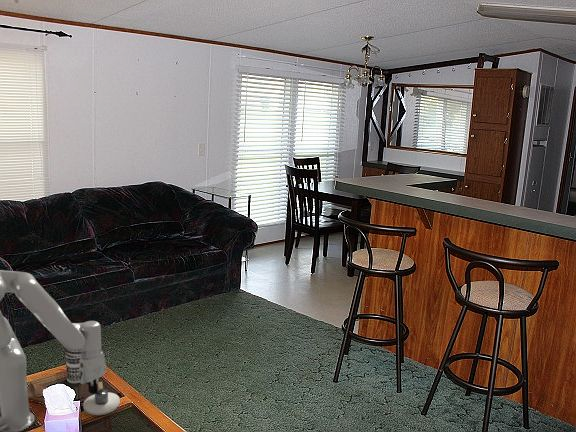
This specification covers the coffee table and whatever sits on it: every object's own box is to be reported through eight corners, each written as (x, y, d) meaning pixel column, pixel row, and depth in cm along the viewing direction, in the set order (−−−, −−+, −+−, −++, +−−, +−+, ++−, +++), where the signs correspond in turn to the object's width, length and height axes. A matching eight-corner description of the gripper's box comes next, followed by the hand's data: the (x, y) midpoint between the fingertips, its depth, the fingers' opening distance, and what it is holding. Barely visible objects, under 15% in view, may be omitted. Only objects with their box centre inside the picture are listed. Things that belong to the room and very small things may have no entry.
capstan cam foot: (108, 403, 221) (108, 392, 220) (95, 405, 219) (95, 395, 218) (106, 391, 229) (106, 380, 228) (94, 393, 227) (93, 382, 226)
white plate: (121, 411, 219) (121, 407, 219) (84, 418, 214) (84, 414, 213) (118, 392, 231) (117, 389, 231) (82, 399, 226) (82, 395, 226)
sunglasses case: (16, 398, 224) (21, 382, 226) (27, 398, 231) (32, 382, 233) (53, 407, 220) (58, 390, 221) (64, 407, 226) (68, 390, 228)
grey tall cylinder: (70, 386, 235) (67, 332, 229) (62, 377, 242) (59, 325, 236) (91, 379, 241) (88, 326, 235) (83, 370, 248) (80, 319, 242)
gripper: (81, 361, 212) (83, 404, 216) (112, 347, 224) (113, 387, 228) (69, 356, 216) (71, 397, 220) (100, 342, 228) (101, 382, 232)
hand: (93, 392), depth 224 cm, fingers closed
